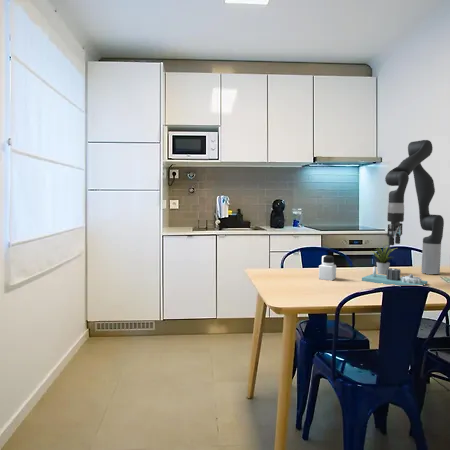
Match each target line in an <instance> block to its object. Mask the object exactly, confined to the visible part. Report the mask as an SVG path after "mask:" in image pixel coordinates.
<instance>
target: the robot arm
mask: <svg viewBox="0 0 450 450" xmlns="http://www.w3.org/2000/svg"><path fill="white" fill-rule="evenodd" d="M433 148H434V147H433V143H432V141H431V140H429V139H421V140H415V141H411V142H409V143H408V145H407V154H408V157H406V158H405V159H402V161H401V162H400V163H399V164H398V166H395V167H394V168H392V169H391V170H389V171H388V172H386V173H387V174H386V175H385V179H384V181H385V184H386V185H387V186H389V187H397V188H396V189H395V190H391V191H389V193H388V204H387V217H386V218H387V222H389V224H387V232H386V233H387V234H386V236H387V237H388V239H389V241H388V245H389V246H394V245H395V244H396V245H400V244H401V236H402V235H403V223H402V222H404V220H405V218H404V216H405V204H404V203H405V193H406V189H407V186H408V183H409V179H410V178H409V176H410V175H411V173H413V178H414V179H413V180H414V187H415V193H416V197H417V203H418V212H419V223H420V228H421V229H422V230H423V231H425V232H426V231H427V232H431V234H430V235H428V236H425V237H423V238H422V249H421V252H422V253H421V255H422V256H421V272H422V273H421V274H423V273H426V274H425V275H429V274H439V275H440V274H441V272H440V271H441V256H442V255H441V254H442V252H441V251H442V240H443V236H444V224H445V221H444V220H445V219H444V217H443V215H440V214H430V203H431V201H432V199H433V197H434V195H435V193H436V188H435V183H434V182H435V181H434V179H433V177H432V176H431V175H430V174H429V172H428V171H427V170H426V169H425V168H424V167H423V165H422V162H424V161H425V160H426V159H428V158H430V156H431V155H432V153H433Z"/></svg>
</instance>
